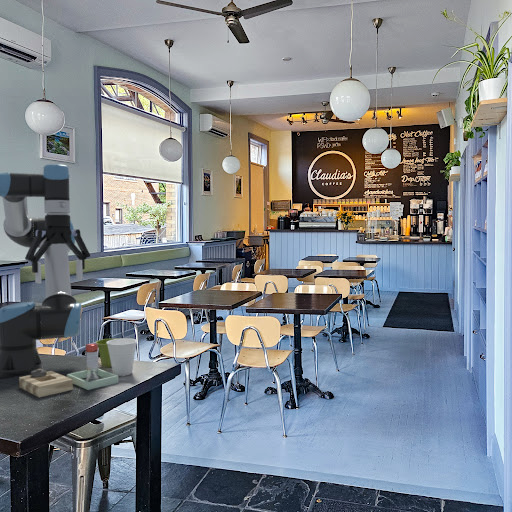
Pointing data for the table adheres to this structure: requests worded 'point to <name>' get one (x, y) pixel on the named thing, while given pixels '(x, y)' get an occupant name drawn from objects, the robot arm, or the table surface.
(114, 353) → the cup
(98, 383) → the tray
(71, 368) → the table surface
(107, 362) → the plant pot
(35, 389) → the wooden block with hole
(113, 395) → the table surface
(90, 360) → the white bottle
